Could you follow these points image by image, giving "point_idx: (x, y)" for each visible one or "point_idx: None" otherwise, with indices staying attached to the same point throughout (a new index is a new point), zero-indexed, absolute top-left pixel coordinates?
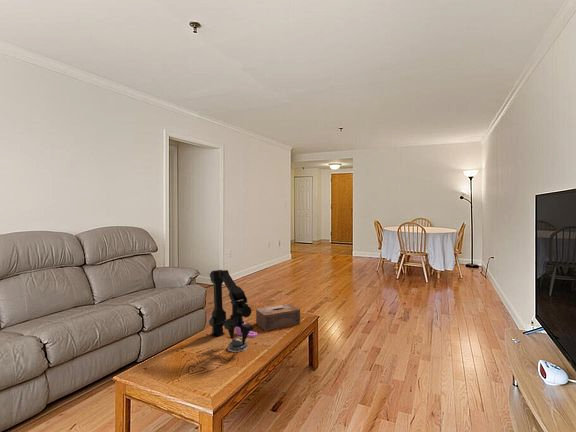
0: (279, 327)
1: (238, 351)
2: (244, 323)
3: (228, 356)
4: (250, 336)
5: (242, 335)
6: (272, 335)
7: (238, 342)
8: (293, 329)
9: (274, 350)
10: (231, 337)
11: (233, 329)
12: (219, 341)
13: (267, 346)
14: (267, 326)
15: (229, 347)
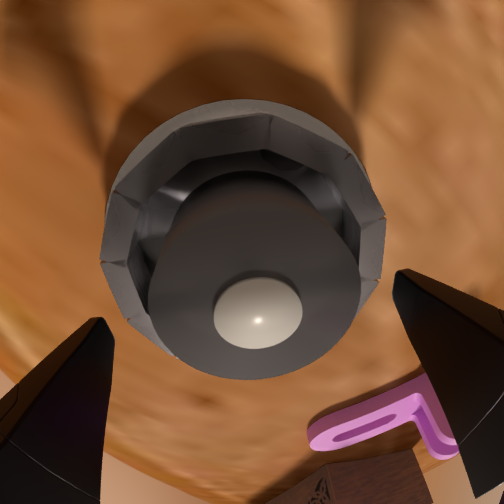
0: (288, 490)
1: (116, 181)
2: (436, 453)
3: (95, 10)
4: (335, 417)
5: (10, 417)
6: (238, 469)
7: (153, 273)
8: (226, 500)
9: None
10: (407, 282)
11: (463, 423)
12: (501, 199)
13: None
14: (321, 485)
15: (262, 113)
